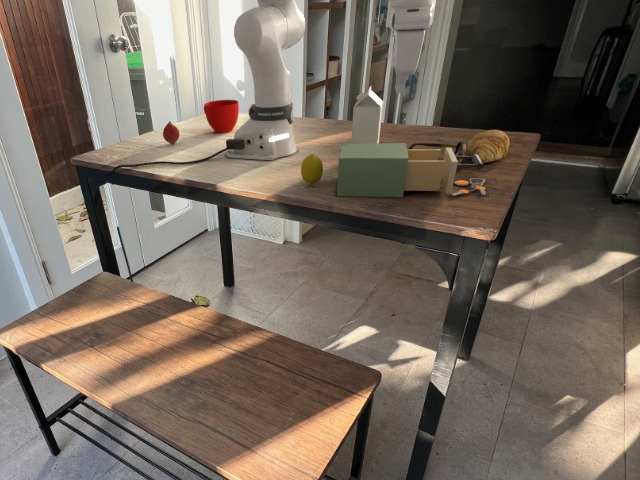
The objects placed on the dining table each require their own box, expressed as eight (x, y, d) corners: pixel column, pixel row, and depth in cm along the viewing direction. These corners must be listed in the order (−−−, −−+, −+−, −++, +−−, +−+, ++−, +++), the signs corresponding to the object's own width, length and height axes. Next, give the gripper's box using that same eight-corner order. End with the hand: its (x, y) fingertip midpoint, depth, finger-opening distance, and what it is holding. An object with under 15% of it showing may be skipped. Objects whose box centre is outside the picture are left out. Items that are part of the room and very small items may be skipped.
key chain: (456, 178, 108) (457, 175, 108) (489, 181, 105) (490, 177, 105) (448, 196, 99) (449, 192, 99) (484, 200, 96) (485, 196, 96)
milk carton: (377, 156, 128) (384, 85, 118) (375, 163, 123) (382, 90, 112) (352, 155, 130) (357, 86, 120) (349, 162, 125) (354, 90, 114)
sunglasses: (404, 155, 127) (407, 137, 124) (462, 157, 122) (466, 139, 119) (399, 170, 117) (401, 151, 114) (461, 174, 111) (466, 154, 108)
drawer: (470, 177, 106) (477, 147, 102) (478, 194, 97) (486, 161, 93) (386, 176, 111) (389, 147, 107) (386, 192, 102) (390, 161, 98)
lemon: (321, 189, 110) (322, 157, 105) (299, 189, 111) (299, 157, 106) (322, 181, 114) (324, 150, 110) (301, 181, 115) (301, 150, 111)
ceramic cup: (219, 124, 178) (216, 97, 173) (247, 129, 168) (245, 101, 162) (194, 131, 172) (190, 103, 166) (221, 136, 161) (219, 107, 155)
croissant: (485, 180, 115) (508, 155, 109) (453, 159, 117) (474, 133, 111) (502, 156, 128) (523, 133, 122) (473, 137, 130) (492, 113, 124)
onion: (161, 146, 156) (157, 123, 151) (169, 142, 160) (166, 119, 155) (175, 147, 154) (172, 123, 149) (183, 142, 158) (180, 119, 153)
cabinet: (400, 179, 111) (405, 143, 106) (402, 197, 101) (408, 158, 96) (340, 179, 115) (342, 143, 110) (336, 195, 105) (338, 158, 100)
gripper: (391, 14, 95) (383, 83, 103) (395, 20, 79) (385, 101, 87) (422, 12, 94) (411, 83, 102) (432, 18, 78) (418, 101, 86)
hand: (399, 91), depth 94 cm, fingers closed
